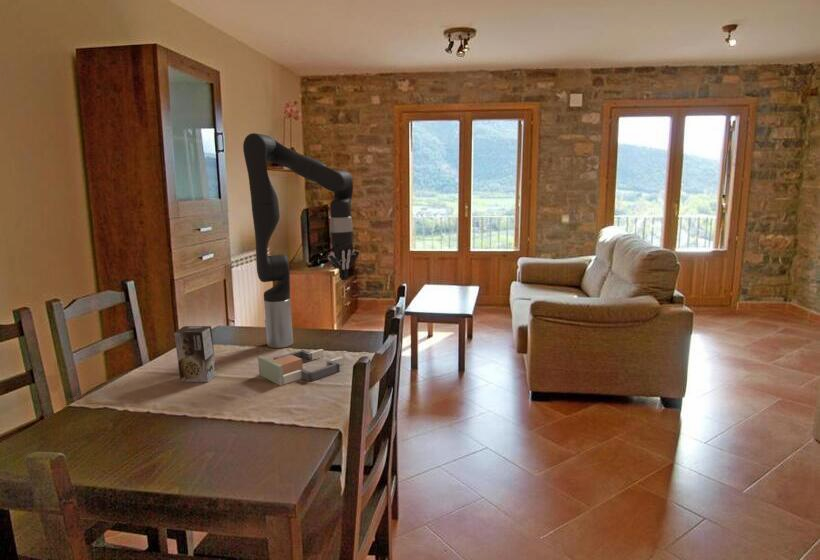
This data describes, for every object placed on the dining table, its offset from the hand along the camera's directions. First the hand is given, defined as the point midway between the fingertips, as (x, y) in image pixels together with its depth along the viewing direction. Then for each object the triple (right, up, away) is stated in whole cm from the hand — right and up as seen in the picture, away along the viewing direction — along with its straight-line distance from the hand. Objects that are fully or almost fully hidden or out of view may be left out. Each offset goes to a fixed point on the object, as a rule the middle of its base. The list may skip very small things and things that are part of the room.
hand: (344, 279), depth 185 cm
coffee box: (-43, -31, -20) cm, 56 cm away
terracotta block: (-16, -30, -17) cm, 38 cm away
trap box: (-11, -29, -14) cm, 34 cm away
